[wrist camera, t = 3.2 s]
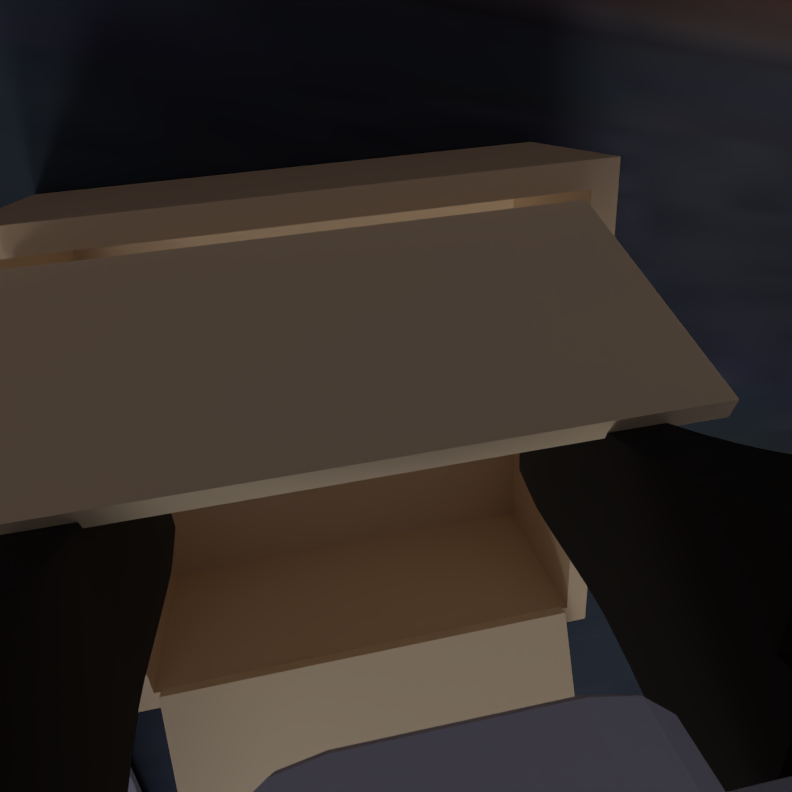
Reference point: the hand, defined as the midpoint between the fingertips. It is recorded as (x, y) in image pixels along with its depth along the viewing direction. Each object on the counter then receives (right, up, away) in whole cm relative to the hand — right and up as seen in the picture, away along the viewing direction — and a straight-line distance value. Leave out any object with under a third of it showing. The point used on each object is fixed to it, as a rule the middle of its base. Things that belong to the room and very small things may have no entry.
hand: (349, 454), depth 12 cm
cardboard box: (-1, +1, +7) cm, 8 cm away
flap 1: (0, +2, -2) cm, 3 cm away
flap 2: (+1, -9, +5) cm, 10 cm away
